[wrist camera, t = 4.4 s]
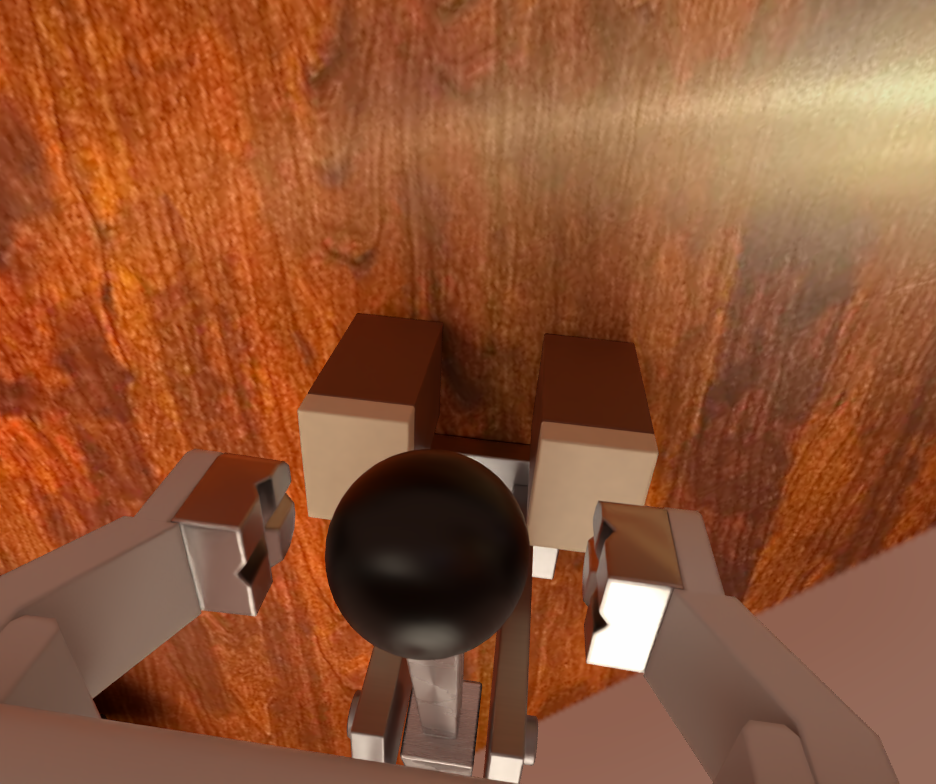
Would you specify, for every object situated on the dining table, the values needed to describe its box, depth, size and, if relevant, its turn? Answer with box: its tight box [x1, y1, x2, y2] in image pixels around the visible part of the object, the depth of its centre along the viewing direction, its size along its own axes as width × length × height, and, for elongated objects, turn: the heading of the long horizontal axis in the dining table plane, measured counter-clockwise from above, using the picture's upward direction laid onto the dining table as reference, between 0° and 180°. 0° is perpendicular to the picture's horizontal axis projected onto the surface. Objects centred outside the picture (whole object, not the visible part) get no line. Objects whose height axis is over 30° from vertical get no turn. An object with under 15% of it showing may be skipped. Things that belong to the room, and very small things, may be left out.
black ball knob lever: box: [325, 449, 530, 776], centre depth 15 cm, size 17×3×3 cm, turn 176°
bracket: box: [347, 434, 559, 784], centre depth 24 cm, size 7×8×13 cm
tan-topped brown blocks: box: [298, 313, 659, 553], centre depth 23 cm, size 11×4×7 cm, turn 87°
